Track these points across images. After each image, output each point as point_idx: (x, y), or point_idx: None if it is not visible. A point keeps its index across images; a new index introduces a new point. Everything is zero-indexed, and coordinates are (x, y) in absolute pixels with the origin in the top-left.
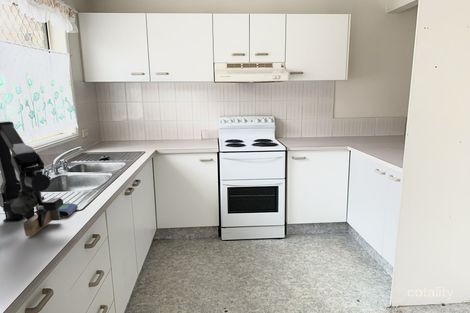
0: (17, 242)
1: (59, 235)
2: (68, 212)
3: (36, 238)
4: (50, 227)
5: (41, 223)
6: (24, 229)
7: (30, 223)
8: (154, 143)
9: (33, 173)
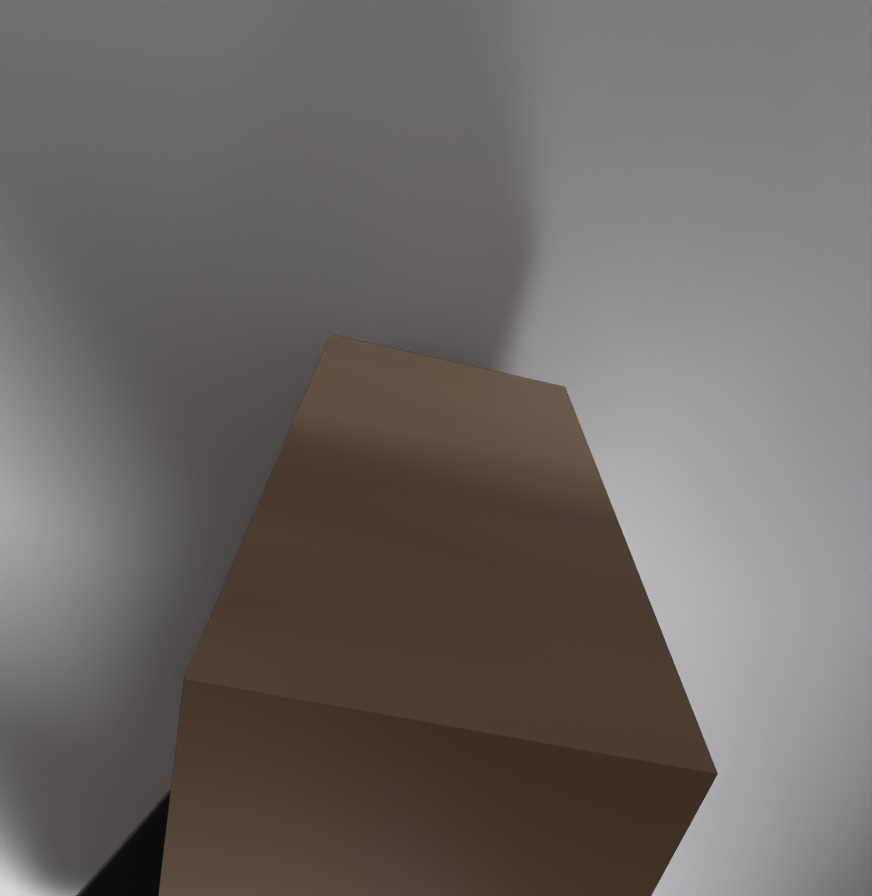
0: (748, 123)
1: None
2: None
3: (232, 269)
4: None
5: (141, 835)
6: (603, 504)
7: (196, 661)
8: None
9: None
